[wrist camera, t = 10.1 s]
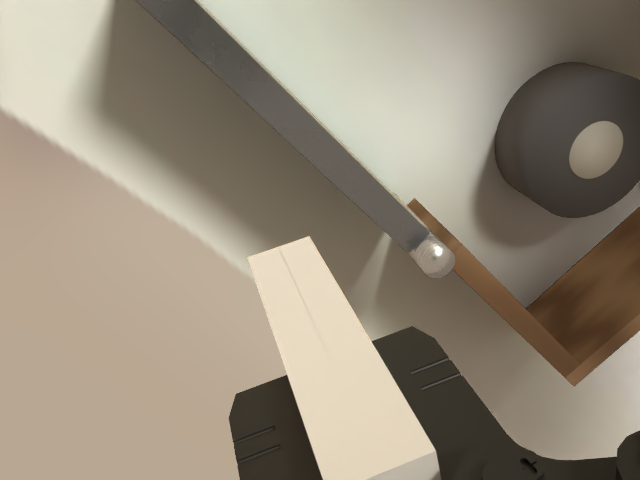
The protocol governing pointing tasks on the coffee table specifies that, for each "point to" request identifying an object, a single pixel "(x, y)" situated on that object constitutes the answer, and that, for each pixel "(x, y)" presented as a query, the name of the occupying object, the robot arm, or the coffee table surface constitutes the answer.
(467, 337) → the coffee table surface
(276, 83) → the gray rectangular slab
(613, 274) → the bay
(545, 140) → the coil
